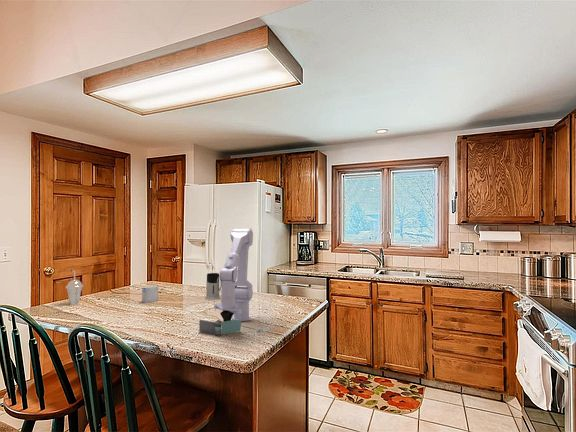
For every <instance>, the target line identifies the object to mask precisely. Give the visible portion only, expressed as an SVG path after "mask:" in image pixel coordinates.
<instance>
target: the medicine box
mask: <svg viewBox="0 0 576 432" xmlns="http://www.w3.org/2000/svg"><path fill="white" fill-rule="evenodd" d="M156 301H157V302H158V301H159V286H157V285H150V286H144V287H141V303H144V304H148V303H153V302H156Z"/></svg>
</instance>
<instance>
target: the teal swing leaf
mask: <svg viewBox="0 0 576 432" xmlns="http://www.w3.org/2000/svg"><path fill="white" fill-rule="evenodd" d="M221 321H222V326H220V327H216V326H215V331H217V332H219V331H222V335H225V334H233V333H238V332H239V333H240V332H241V331H242V330H241V329H242V327H241V326H242V324H241V322H242V321H241V319H237V320H233V319H231V320H230V321H223V320H221Z"/></svg>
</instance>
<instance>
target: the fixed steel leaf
mask: <svg viewBox="0 0 576 432" xmlns="http://www.w3.org/2000/svg"><path fill="white" fill-rule="evenodd" d="M222 321H223V320H220V319H217V320H215V321H209V320H204V319H199V324H198V325H199V327H198V330H199V331H198V332H199V333H202V334H207V335H214V336H215V337H221V336H222V335H223V334H222V331H219V332H217V331H215V326H216V327H220V326H222Z"/></svg>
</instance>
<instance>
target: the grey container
mask: <svg viewBox="0 0 576 432" xmlns="http://www.w3.org/2000/svg"><path fill="white" fill-rule="evenodd" d="M219 276H220V272H210V273H207V274H206V282H205V283H206V289H205V291H206V292H205V293H206V294H205V295H206V296H205V300H208V301H215V300H219V299H220V300H221V296H220V292H221V285H220V277H219Z"/></svg>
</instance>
